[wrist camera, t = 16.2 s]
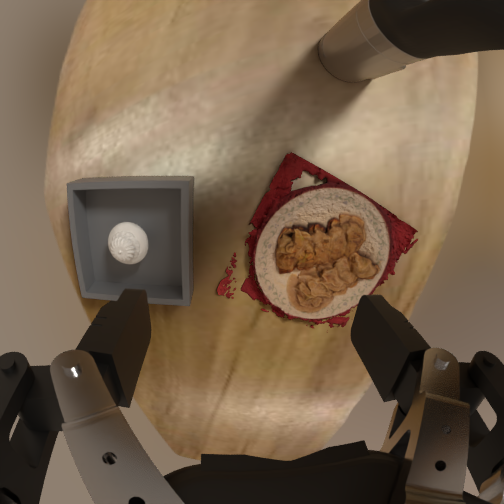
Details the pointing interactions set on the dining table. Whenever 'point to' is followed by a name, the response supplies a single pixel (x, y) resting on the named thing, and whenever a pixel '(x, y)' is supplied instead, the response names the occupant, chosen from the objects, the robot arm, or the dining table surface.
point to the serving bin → (147, 217)
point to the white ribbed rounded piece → (128, 243)
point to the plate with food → (319, 246)
